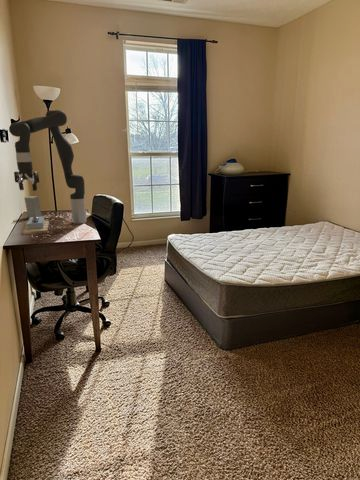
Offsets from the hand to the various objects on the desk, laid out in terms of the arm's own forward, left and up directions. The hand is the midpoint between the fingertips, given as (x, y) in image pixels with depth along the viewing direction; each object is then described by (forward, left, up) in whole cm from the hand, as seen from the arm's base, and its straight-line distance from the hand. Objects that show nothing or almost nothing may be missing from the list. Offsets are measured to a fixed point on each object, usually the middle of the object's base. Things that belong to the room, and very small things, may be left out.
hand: (28, 190), depth 183 cm
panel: (-21, -17, -26) cm, 38 cm away
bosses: (-19, -15, -27) cm, 36 cm away
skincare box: (-47, -42, -28) cm, 69 cm away
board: (-20, -16, -28) cm, 38 cm away
